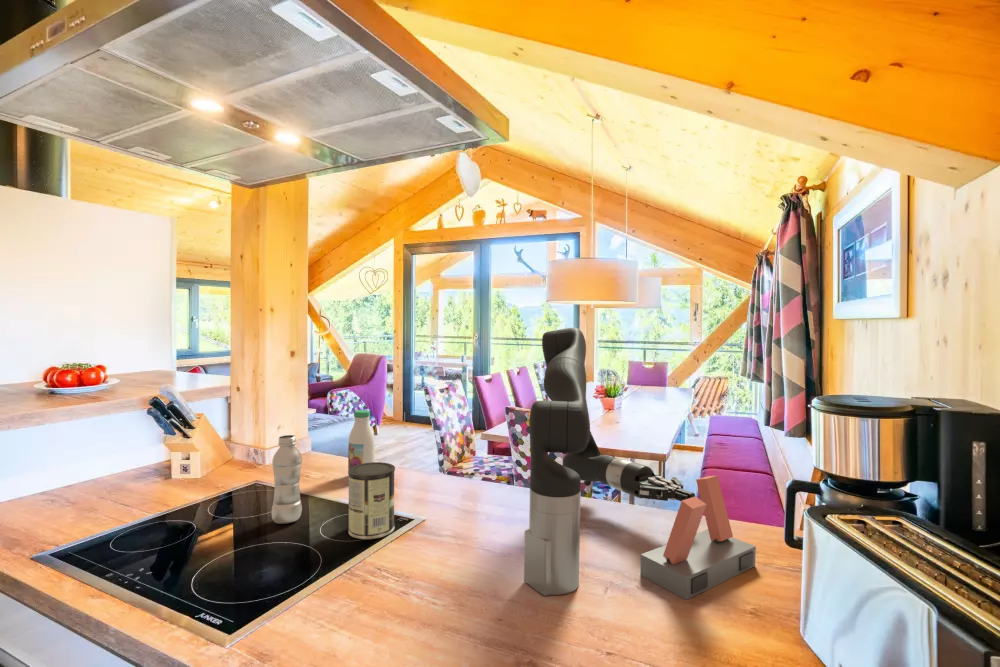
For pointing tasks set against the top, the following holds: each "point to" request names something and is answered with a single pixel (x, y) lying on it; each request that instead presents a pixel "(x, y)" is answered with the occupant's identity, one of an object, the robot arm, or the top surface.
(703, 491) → the block
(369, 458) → the milk bottle
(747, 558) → the grey switch base
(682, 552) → the rocker near
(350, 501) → the coffee can
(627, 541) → the top surface
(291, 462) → the plastic bottle
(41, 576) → the top surface
